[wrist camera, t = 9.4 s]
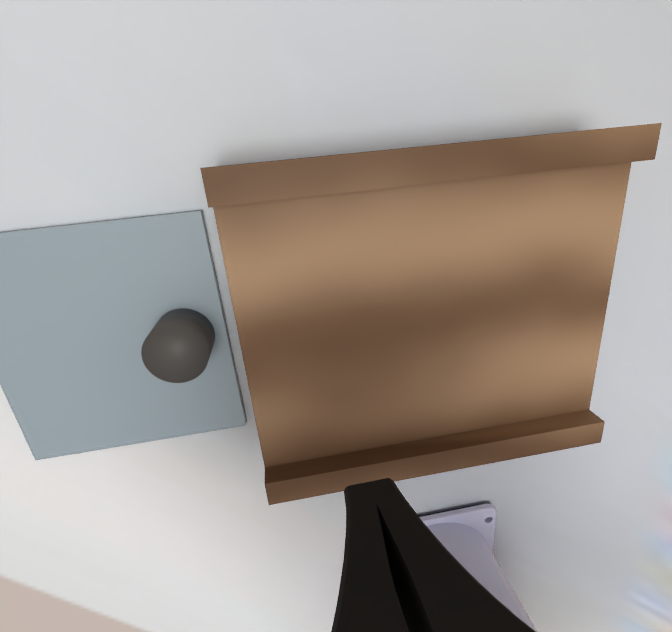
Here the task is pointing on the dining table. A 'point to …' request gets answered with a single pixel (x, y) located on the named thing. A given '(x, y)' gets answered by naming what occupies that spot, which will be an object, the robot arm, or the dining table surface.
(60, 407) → the cover plate
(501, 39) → the dining table surface
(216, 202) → the walnut case
